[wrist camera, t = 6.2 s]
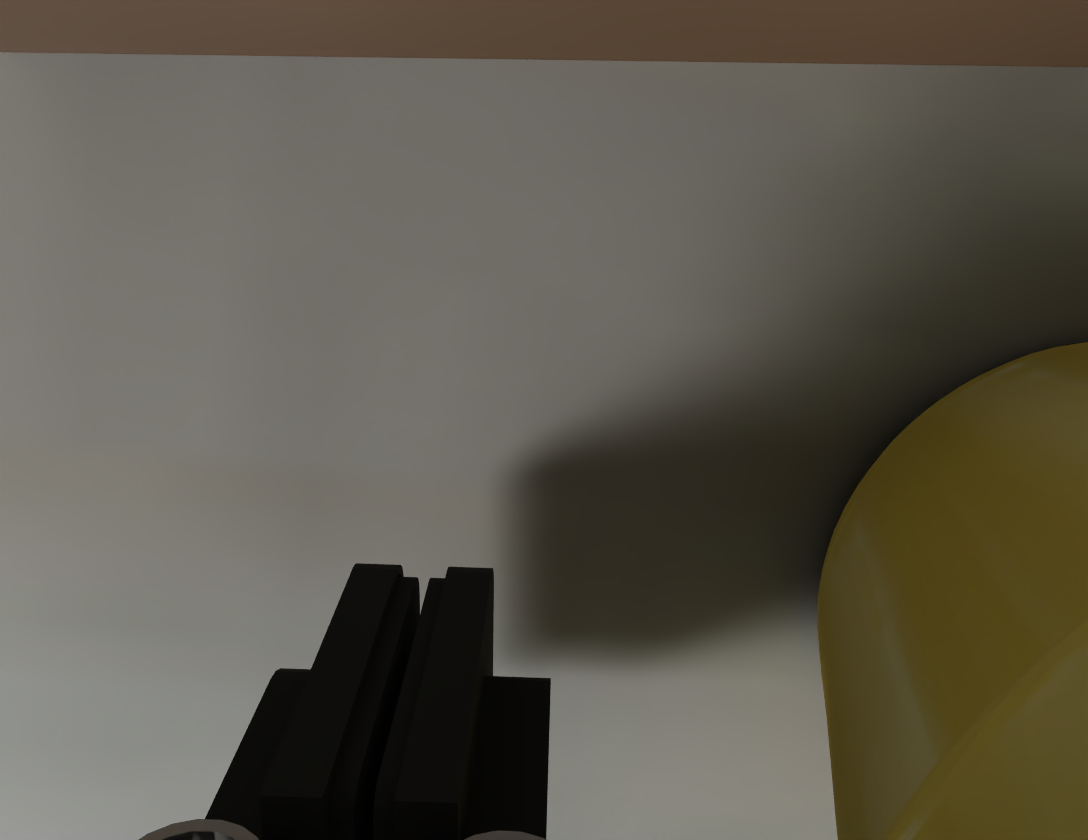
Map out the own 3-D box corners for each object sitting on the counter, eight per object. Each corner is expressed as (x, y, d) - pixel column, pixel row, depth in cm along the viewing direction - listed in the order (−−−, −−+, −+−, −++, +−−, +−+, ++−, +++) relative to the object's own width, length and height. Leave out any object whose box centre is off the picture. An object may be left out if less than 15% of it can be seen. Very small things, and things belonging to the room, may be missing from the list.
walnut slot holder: (-17, -75, 11) (-183, -104, 8) (1118, -61, 10) (1276, -87, 8) (166, 973, 16) (99, 1132, 14) (903, 994, 16) (961, 1157, 14)
